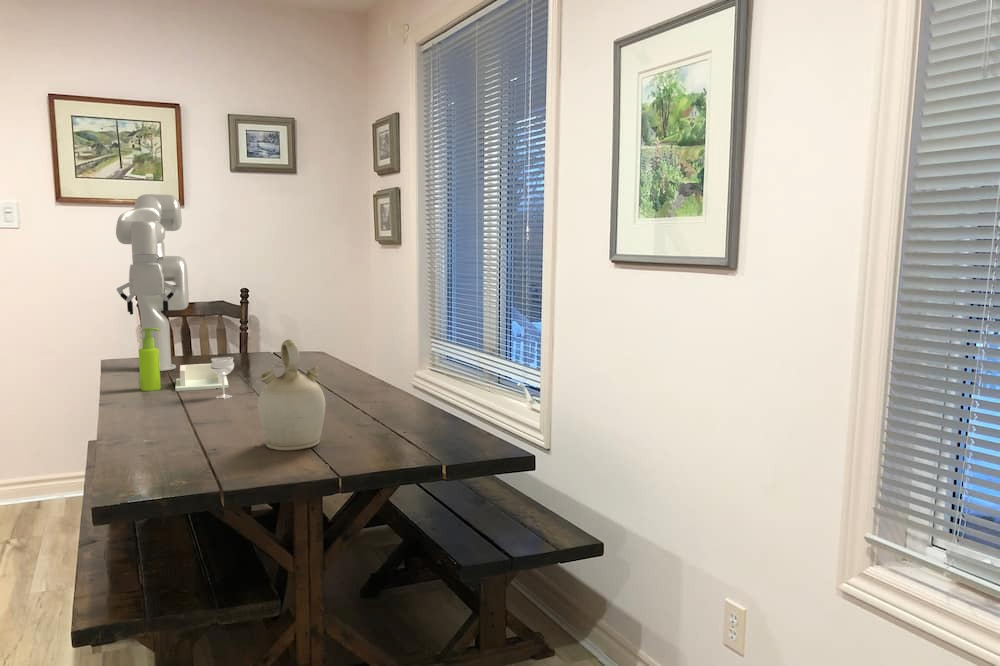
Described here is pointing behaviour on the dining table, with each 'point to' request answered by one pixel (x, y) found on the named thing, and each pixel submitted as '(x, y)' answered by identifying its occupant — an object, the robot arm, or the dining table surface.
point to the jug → (291, 404)
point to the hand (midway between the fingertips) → (148, 313)
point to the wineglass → (222, 369)
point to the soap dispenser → (149, 363)
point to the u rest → (199, 378)
